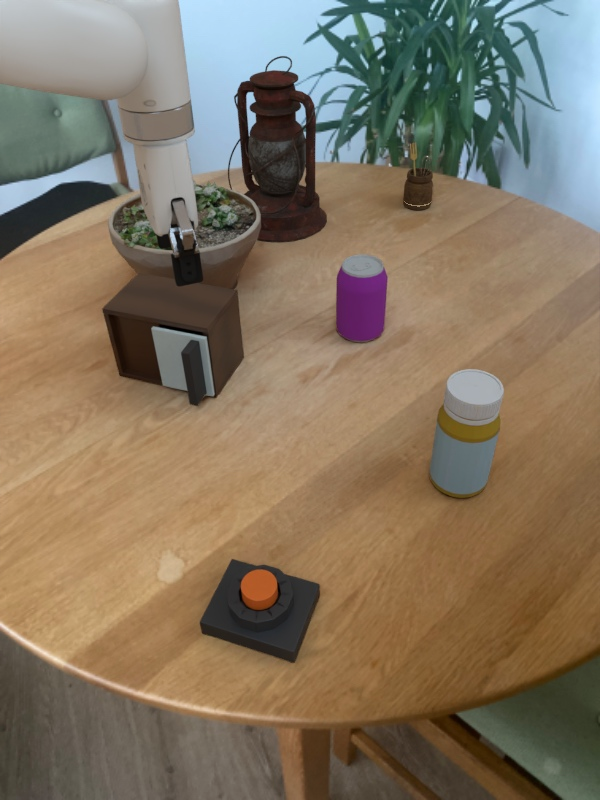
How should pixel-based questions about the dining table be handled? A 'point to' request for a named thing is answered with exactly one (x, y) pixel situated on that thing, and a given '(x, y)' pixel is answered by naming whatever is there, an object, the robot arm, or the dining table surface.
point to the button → (259, 589)
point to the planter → (215, 234)
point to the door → (184, 362)
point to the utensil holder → (418, 184)
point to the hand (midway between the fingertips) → (180, 263)
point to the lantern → (279, 156)
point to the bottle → (466, 433)
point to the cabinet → (173, 325)
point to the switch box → (261, 613)
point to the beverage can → (361, 298)
